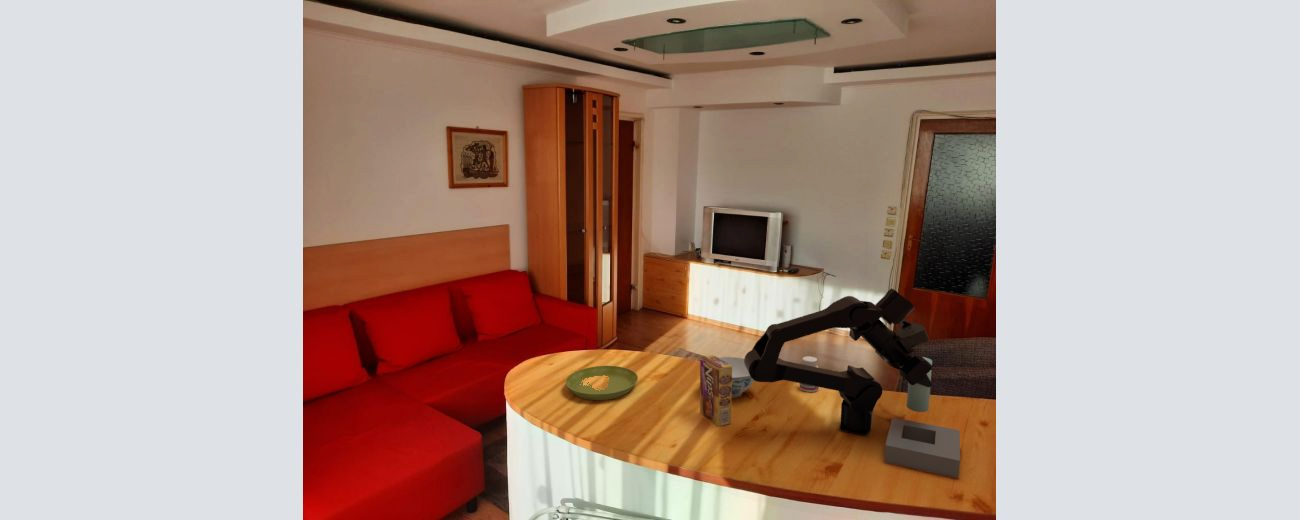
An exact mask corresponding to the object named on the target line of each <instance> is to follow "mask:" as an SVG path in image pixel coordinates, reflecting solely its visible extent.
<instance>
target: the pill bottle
mask: <svg viewBox="0 0 1300 520" xmlns="http://www.w3.org/2000/svg"><path fill="white" fill-rule="evenodd" d="M802 364H803V365H808V366H813V367H818V368H820V367H819V366H818V358H817V357H815V356H810V355H809V356H804V357H802ZM798 385H799V386H798V387H799V389H800V390H801V391H803V392H806V393H816V392H817V391H818V390H819V388H820V387H816V386H811V385H806V384H801V383H799V384H798Z"/></svg>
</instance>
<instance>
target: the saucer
mask: <svg viewBox="0 0 1300 520" xmlns="http://www.w3.org/2000/svg"><path fill="white" fill-rule="evenodd" d="M603 375H605V376H608V377H609V380H610V381H608V382H609V383H608V382H607V383H608V387H606V388H605V389H604V390H602V389H601V390H600V389H599V390H600V391H599V390H595V389H594V388H592V385H590V384H589V385H590V386H591V387H590V386H587V385H586V386H585V385H584V386H583V382H582V380H584V379H585V378H589V377H594V376H603ZM638 376H639V375H638V374H637V373H636V371H634V370H632V369H630V368H627V367H624V366H617V365H598V366H597V365H595V366H589V367H586V368H581V369H579V370H577V371H574V372H572V373H571V374H570V375H568V376H567V377H566V379H565V385H566V387H567V389H569V391H570V392H571V393H572V394H574V396H577V397H579V398H582V399H585V400H588V399H589V401H608V399H609V400H613V399H617V397H618V398H620V397H622V396H625V395H626V394H628V393H629V392H630V391H631V390H632V389H633V388H634V387H635V385H636V384H637V382H638V381H639V377H638ZM608 377H607V378H608ZM581 382H582V383H581ZM588 383H589V382H588ZM588 383H587V384H588ZM580 384H581V385H580ZM603 388H604V387H603ZM597 389H598V388H597Z"/></svg>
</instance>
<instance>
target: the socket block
mask: <svg viewBox="0 0 1300 520" xmlns="http://www.w3.org/2000/svg"><path fill="white" fill-rule="evenodd" d="M888 429H889V430H888V433H887V437H886V440H885V441H886V442H885V446H884V448H885V449H884V459H883V461H884V463H887V464H891V465H895V466H896V465H897V466H901V467H904V468H909V469H914V470H918V471H922V472H927V473H932V474H936V475H940V476H945V477H948V478H949V477H950V478H954V479H959V476H960V475H959V474H960V467H961V466H960V463H961V433H960V432H961V430H960V429H955V428H950V427H945V426H940V425H934V424H928V423H924V422H918V421H913V420H908V419H903V418H897V417H891V420H890V425H889V428H888Z"/></svg>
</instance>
